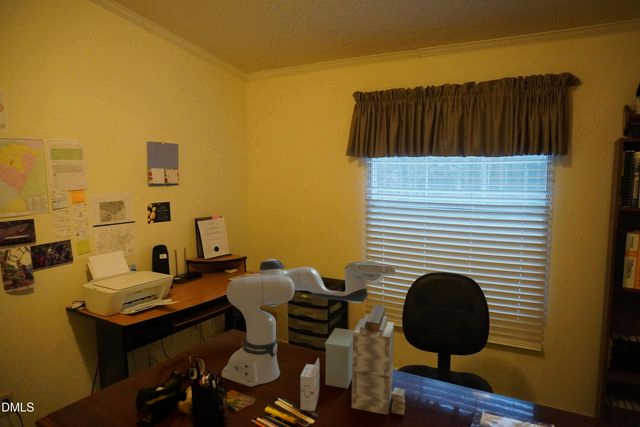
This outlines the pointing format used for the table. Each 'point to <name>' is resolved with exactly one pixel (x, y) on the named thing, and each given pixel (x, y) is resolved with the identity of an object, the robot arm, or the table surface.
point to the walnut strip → (376, 318)
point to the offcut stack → (398, 401)
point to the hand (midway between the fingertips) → (369, 266)
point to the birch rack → (372, 366)
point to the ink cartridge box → (310, 386)
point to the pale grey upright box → (339, 358)
